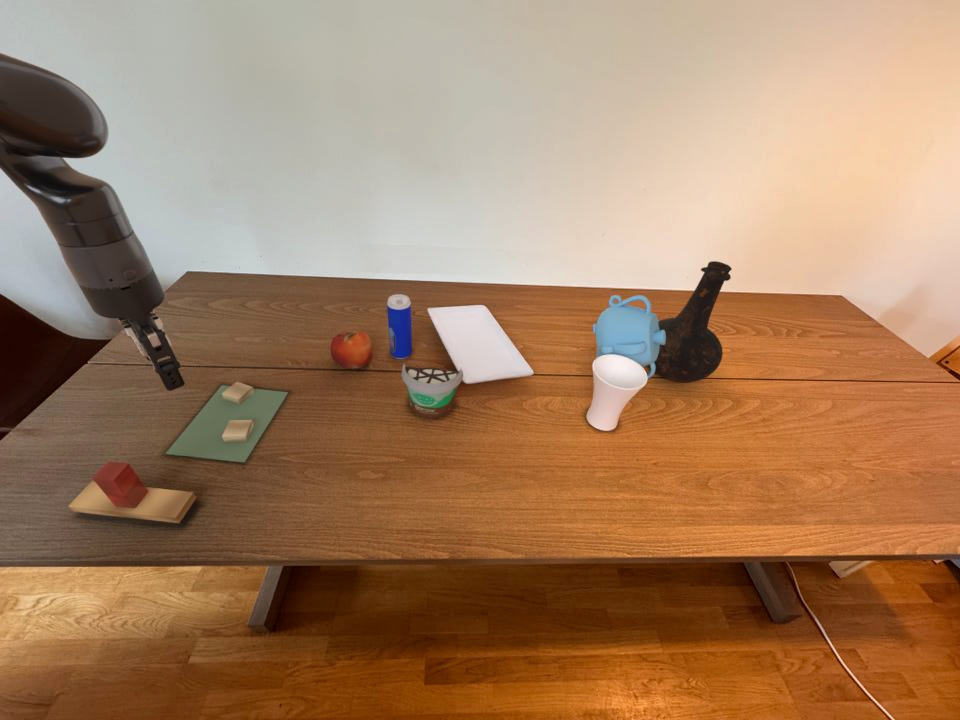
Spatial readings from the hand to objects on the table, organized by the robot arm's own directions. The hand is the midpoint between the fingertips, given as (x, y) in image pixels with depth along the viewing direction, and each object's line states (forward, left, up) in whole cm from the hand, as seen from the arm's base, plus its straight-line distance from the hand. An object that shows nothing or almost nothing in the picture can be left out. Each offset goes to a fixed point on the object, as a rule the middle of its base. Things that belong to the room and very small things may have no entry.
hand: (166, 372), depth 61 cm
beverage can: (+35, -26, -20) cm, 48 cm away
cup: (+20, -72, -20) cm, 78 cm away
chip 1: (+15, +3, -20) cm, 25 cm away
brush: (-11, +5, -20) cm, 23 cm away
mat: (+9, +1, -20) cm, 22 cm away
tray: (+39, -43, -19) cm, 61 cm away
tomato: (+30, -16, -20) cm, 40 cm away
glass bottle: (+40, -93, -20) cm, 103 cm away
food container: (+17, -36, -20) cm, 45 cm away
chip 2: (+6, -2, -20) cm, 21 cm away
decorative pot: (+36, -72, -11) cm, 81 cm away
